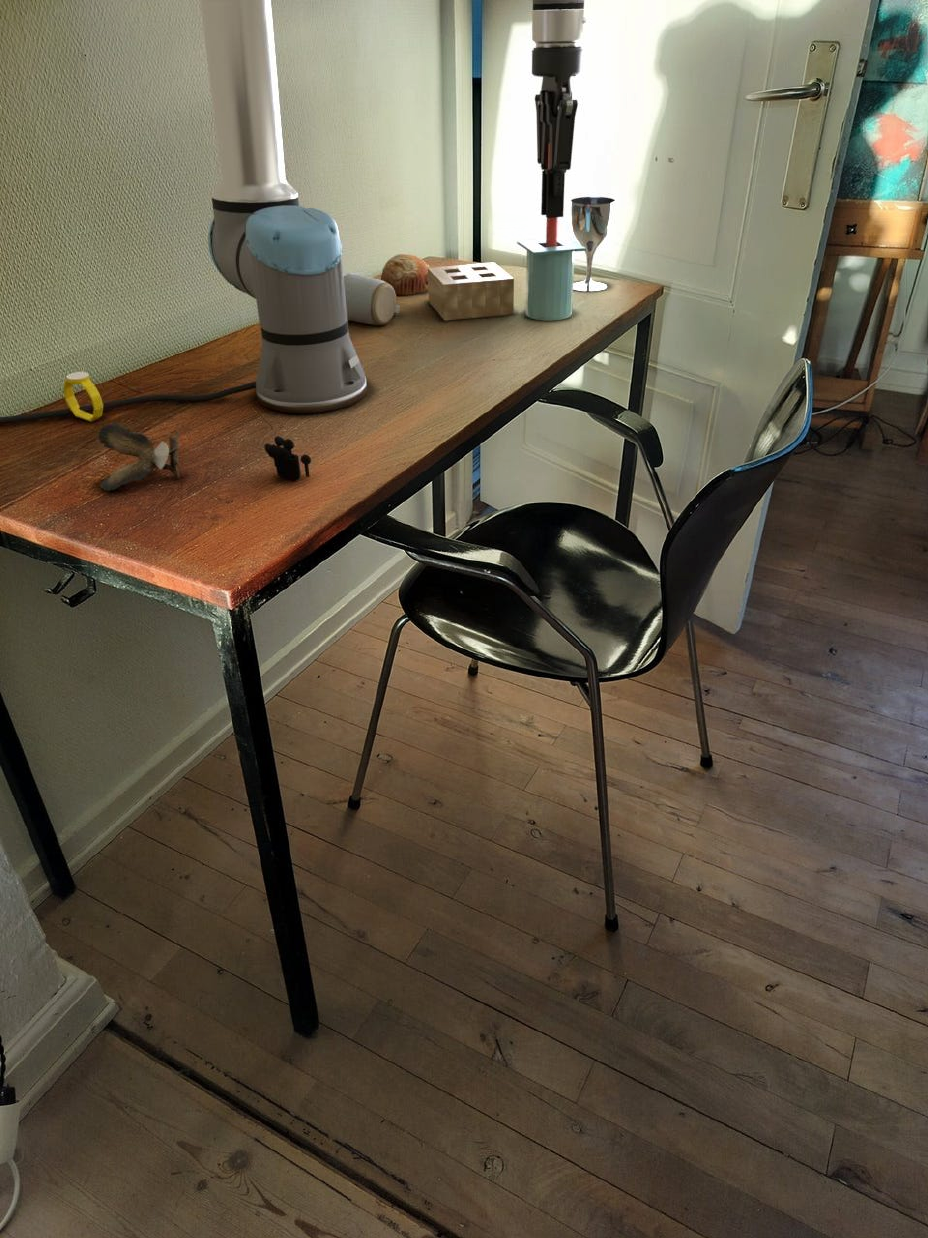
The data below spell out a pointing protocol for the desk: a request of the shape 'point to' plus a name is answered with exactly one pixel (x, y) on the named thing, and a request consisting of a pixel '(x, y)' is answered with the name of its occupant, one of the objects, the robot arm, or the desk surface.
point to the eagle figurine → (137, 454)
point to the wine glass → (591, 231)
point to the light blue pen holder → (549, 285)
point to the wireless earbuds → (287, 459)
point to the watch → (91, 390)
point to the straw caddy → (470, 291)
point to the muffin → (406, 274)
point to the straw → (551, 223)
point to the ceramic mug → (369, 299)
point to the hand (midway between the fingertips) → (552, 215)
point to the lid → (564, 246)
